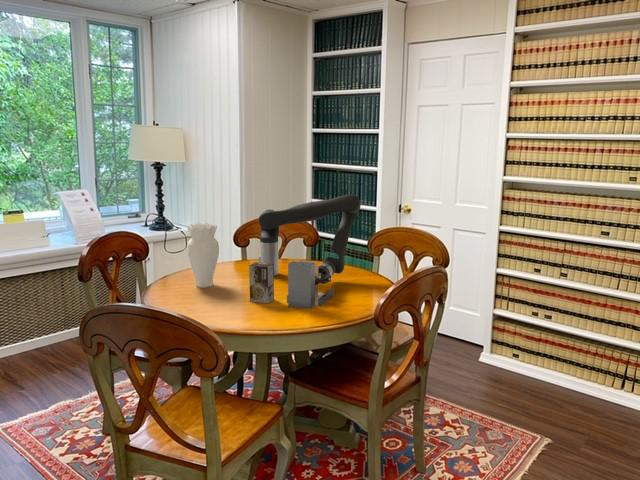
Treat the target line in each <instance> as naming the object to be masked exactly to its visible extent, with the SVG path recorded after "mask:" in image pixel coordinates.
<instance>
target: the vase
mask: <svg viewBox="0 0 640 480" xmlns="http://www.w3.org/2000/svg"><path fill="white" fill-rule="evenodd" d="M217 229H218V226H217V225H216V224H215V223H211V224H210V223H208V222H206V223H204V224H202V223H200V222H197V223H194V224H189V225H188V226H187V230H188V232H189V235H190V237H191V238H190V239H189V240H188V242H187V243H186V244H187V246H186V247H187V248H186V251H187V257H188V260H189V263H190V266H191V269H192V272H193V275H194V278H195V286H196V287H197V286H199V287H198V288H210V287H213V286H214V275H215V271H216V266H217V264H218V259H219V254H220V245H219V241H218V239H216V238H215V235H216V232H217V231H216V230H217ZM209 286H210V287H209Z"/></svg>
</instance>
